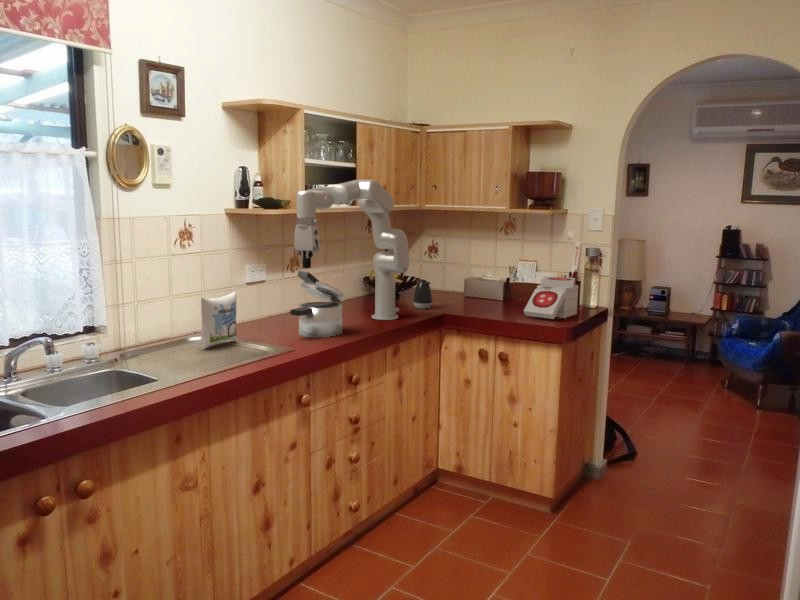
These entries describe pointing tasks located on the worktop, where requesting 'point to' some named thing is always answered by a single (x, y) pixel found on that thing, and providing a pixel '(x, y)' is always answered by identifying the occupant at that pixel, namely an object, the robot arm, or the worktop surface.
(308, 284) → the cooker lid
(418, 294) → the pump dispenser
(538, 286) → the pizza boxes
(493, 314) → the worktop surface
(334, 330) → the cooker pot
